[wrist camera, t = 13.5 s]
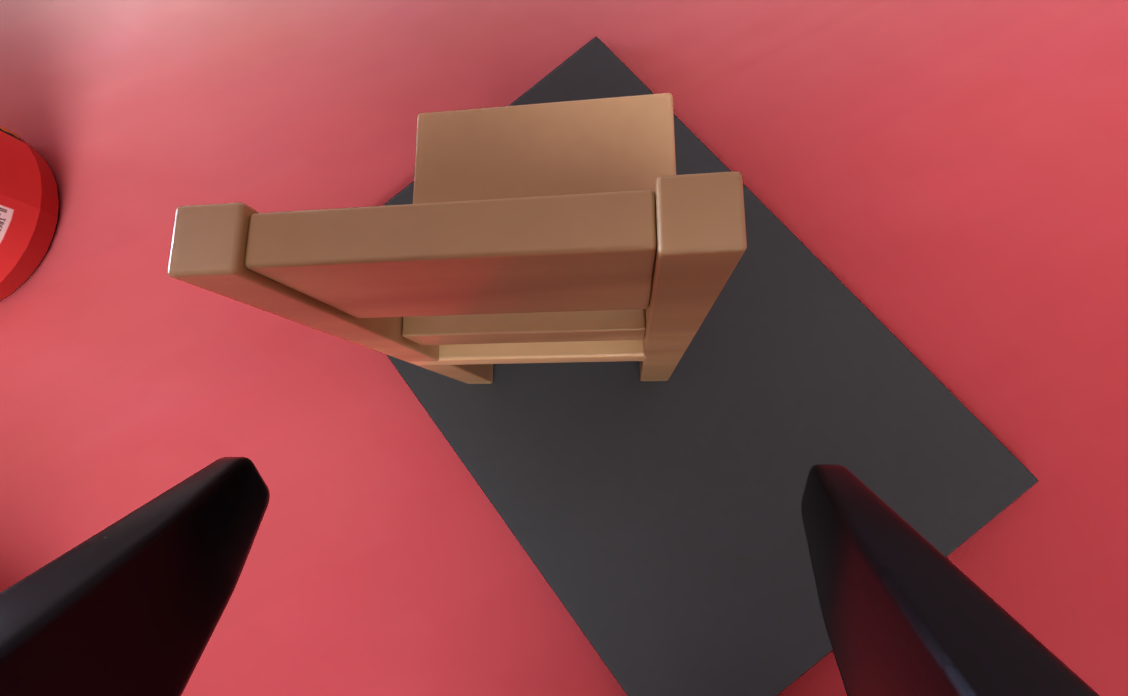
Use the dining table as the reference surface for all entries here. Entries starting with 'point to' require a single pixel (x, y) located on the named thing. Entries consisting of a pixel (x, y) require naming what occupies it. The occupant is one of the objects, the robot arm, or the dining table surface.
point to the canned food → (24, 211)
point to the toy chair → (498, 245)
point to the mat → (714, 455)
